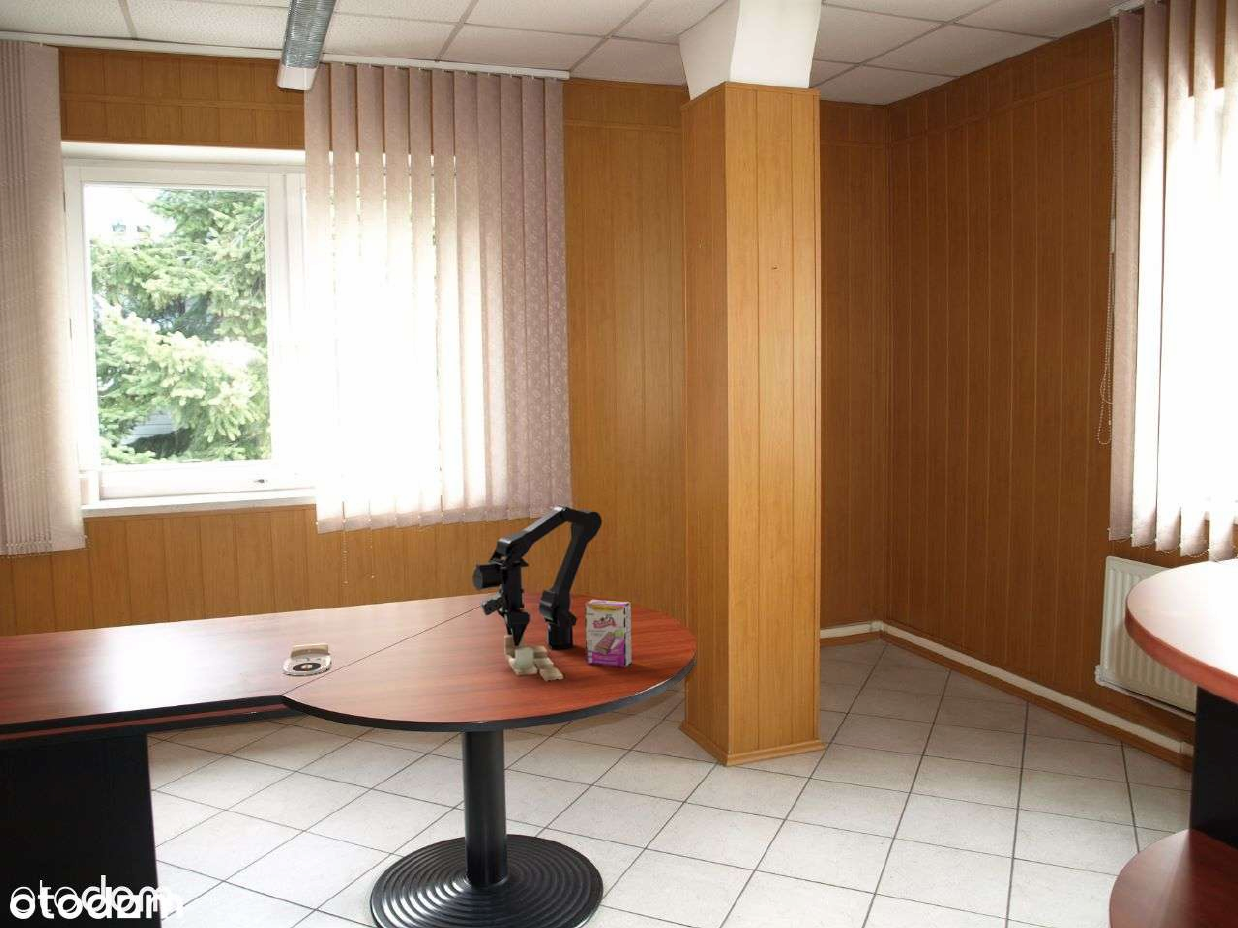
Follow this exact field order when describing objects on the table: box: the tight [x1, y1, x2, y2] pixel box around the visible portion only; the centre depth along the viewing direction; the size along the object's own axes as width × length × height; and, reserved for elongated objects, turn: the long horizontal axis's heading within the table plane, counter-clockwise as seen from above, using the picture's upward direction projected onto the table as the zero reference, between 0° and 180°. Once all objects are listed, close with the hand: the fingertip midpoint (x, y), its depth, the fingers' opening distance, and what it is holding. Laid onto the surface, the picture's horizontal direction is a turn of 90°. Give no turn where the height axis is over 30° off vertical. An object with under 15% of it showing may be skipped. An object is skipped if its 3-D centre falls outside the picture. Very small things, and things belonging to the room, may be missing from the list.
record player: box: [283, 642, 332, 676], centre depth 280 cm, size 12×3×20 cm
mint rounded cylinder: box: [514, 646, 534, 670], centre depth 270 cm, size 5×5×4 cm
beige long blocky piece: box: [503, 634, 538, 676], centre depth 275 cm, size 5×19×6 cm, turn 16°
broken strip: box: [528, 645, 564, 682], centre depth 272 cm, size 4×23×2 cm, turn 16°
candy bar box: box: [584, 599, 633, 668], centre depth 273 cm, size 11×5×16 cm, turn 71°
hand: (513, 641), depth 283 cm, fingers open, 9 cm apart
